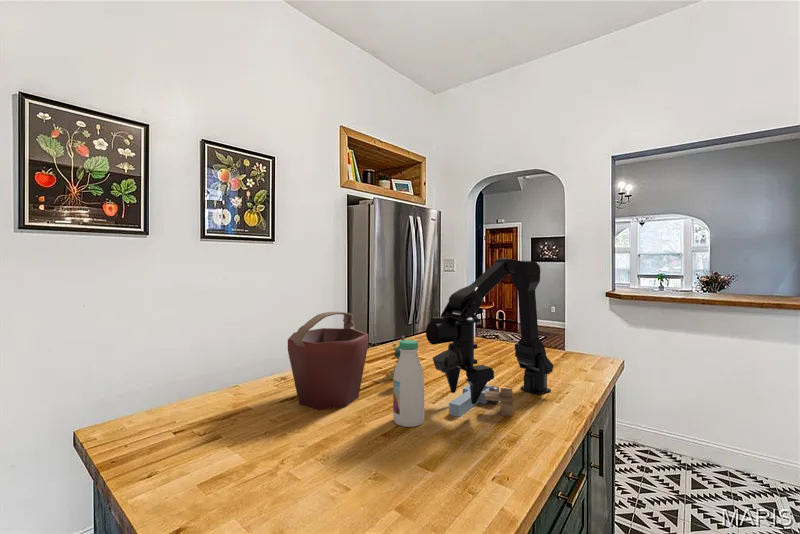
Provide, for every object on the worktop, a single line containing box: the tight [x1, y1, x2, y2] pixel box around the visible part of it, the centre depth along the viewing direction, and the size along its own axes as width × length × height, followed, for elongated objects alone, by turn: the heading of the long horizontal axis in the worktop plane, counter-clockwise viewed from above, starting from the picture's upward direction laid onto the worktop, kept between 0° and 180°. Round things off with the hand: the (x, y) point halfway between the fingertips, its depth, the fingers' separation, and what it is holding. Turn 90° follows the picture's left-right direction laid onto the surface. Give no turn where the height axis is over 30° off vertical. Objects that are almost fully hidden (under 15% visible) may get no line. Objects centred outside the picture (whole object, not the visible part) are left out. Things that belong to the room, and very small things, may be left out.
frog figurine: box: [382, 335, 405, 381], centre depth 134 cm, size 10×18×15 cm, turn 129°
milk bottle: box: [392, 339, 425, 428], centre depth 95 cm, size 8×8×20 cm
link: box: [448, 383, 491, 418], centre depth 106 cm, size 19×7×3 cm, turn 145°
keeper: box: [485, 387, 514, 417], centre depth 100 cm, size 4×7×6 cm, turn 77°
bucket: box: [287, 311, 369, 411], centre depth 111 cm, size 24×22×25 cm
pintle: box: [488, 385, 500, 405], centre depth 108 cm, size 3×3×4 cm
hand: (463, 398), depth 103 cm, fingers open, 9 cm apart
